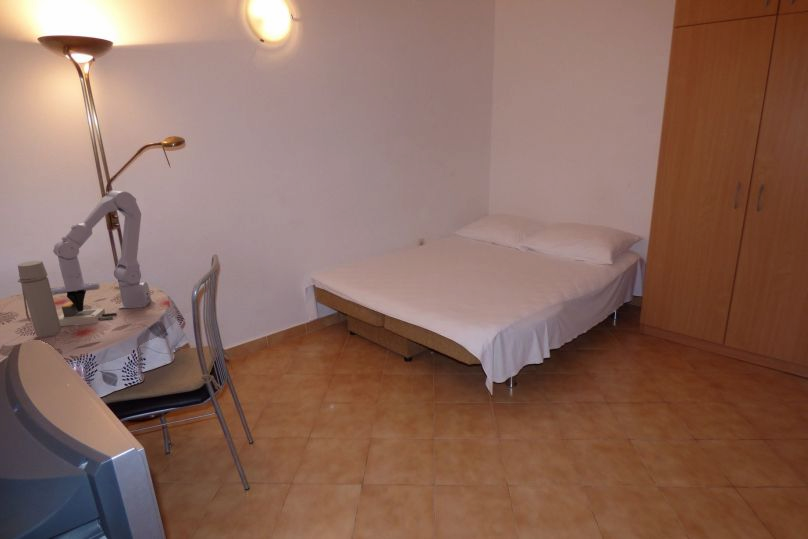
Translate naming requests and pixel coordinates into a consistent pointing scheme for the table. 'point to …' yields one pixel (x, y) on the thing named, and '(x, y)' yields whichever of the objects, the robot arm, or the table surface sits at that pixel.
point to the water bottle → (39, 298)
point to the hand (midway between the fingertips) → (80, 310)
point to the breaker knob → (69, 309)
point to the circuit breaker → (82, 317)
